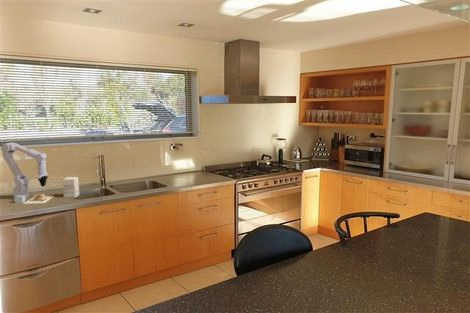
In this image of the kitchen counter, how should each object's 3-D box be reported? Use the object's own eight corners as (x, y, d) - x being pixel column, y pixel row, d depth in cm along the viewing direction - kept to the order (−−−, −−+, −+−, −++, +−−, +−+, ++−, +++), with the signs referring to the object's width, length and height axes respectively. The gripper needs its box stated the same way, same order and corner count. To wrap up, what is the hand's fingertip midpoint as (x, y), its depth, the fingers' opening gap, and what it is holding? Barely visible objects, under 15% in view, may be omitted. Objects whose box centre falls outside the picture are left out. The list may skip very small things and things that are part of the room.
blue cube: (15, 203, 245) (14, 197, 244) (18, 201, 250) (17, 195, 249) (22, 203, 246) (22, 196, 245) (25, 201, 251) (25, 195, 250)
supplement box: (68, 195, 270) (67, 176, 268) (79, 194, 271) (78, 176, 269) (63, 197, 261) (62, 179, 259) (75, 197, 262) (74, 179, 260)
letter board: (22, 204, 242) (22, 203, 242) (34, 197, 262) (34, 196, 262) (44, 203, 245) (44, 203, 245) (54, 196, 265) (54, 195, 265)
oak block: (33, 201, 250) (33, 195, 249) (36, 199, 254) (36, 194, 254) (42, 200, 251) (42, 195, 250) (45, 199, 256) (44, 193, 255)
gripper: (44, 170, 252) (45, 187, 254) (50, 167, 266) (52, 183, 268) (33, 170, 251) (35, 188, 253) (41, 167, 265) (42, 184, 267)
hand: (43, 185), depth 260 cm, fingers closed
